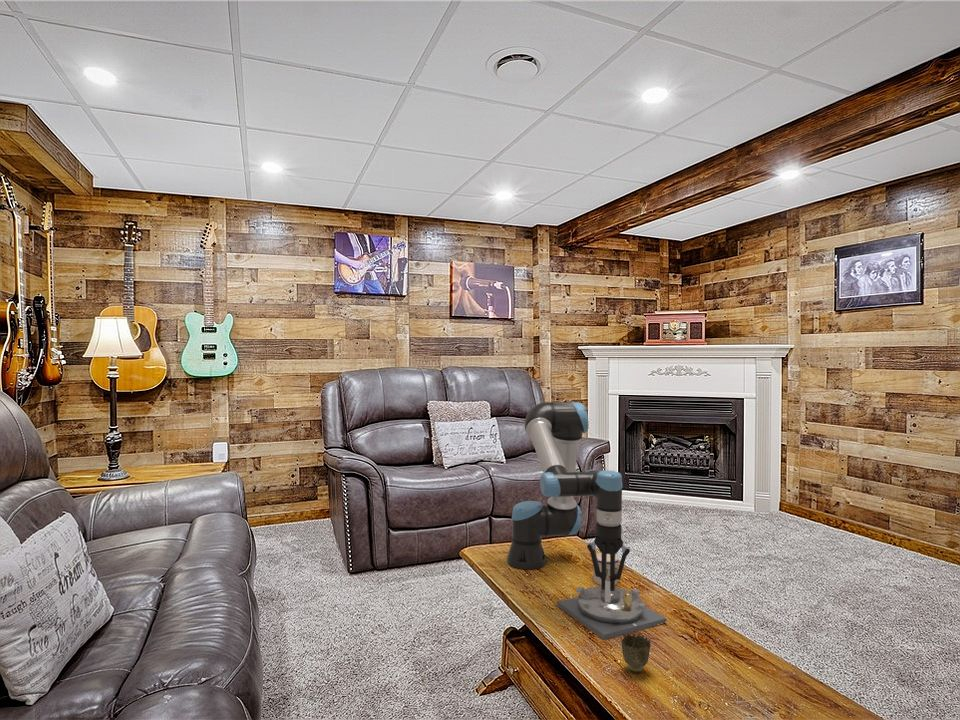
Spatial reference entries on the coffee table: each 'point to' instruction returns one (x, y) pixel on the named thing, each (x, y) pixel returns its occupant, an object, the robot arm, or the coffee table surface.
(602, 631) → the plate
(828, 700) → the coffee table surface
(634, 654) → the cup
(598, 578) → the teacup with lid
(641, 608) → the grey metal round disc
